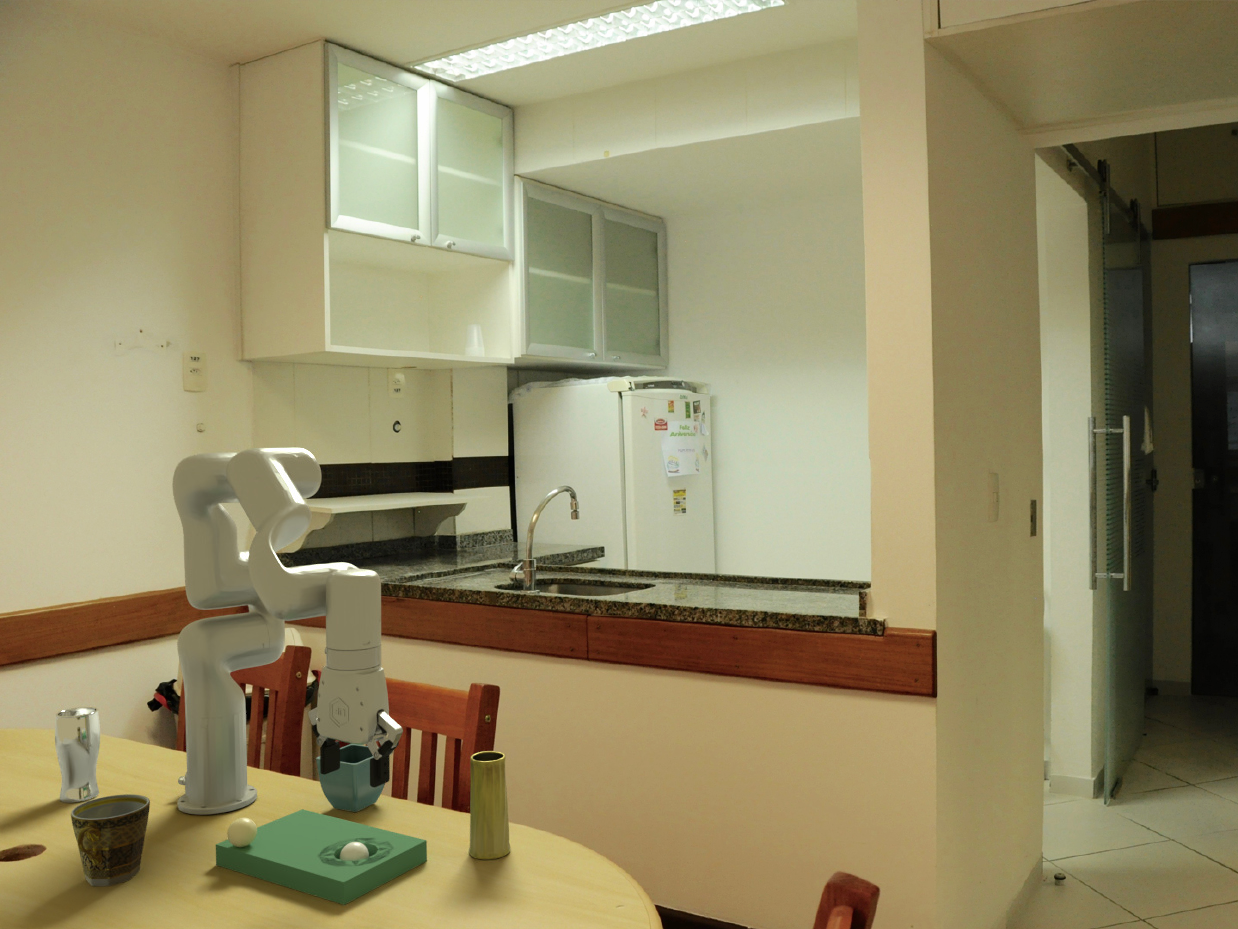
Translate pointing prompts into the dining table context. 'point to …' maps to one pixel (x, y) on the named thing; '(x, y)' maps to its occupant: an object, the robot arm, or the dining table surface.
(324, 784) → the flower pot
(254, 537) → the robot arm
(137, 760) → the dining table surface
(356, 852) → the white ball
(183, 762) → the dining table surface
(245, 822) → the yellow ball
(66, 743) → the beer glass
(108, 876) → the ceramic cup
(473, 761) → the vase
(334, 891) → the putting mat
